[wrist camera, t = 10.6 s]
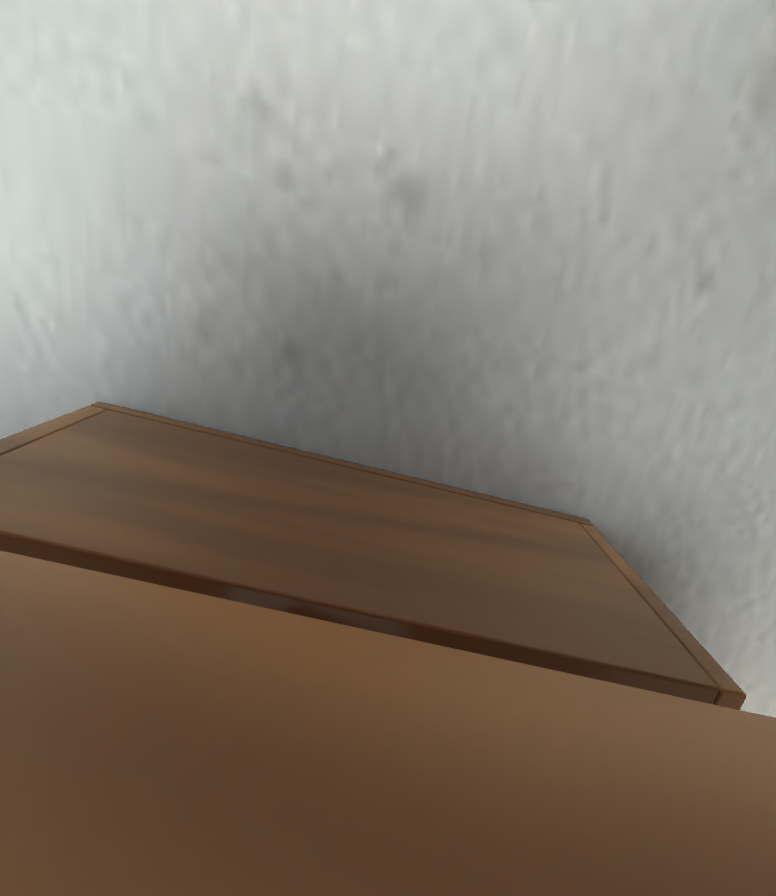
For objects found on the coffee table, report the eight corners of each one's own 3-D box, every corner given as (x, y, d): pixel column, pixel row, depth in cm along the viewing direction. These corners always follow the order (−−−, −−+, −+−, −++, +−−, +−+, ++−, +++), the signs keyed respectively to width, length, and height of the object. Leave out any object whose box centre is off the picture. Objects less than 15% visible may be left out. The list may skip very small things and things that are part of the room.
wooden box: (98, 401, 12) (-230, 525, 6) (589, 519, 13) (791, 743, 7) (59, 768, 15) (-186, 1127, 8) (461, 843, 16) (515, 1219, 9)
